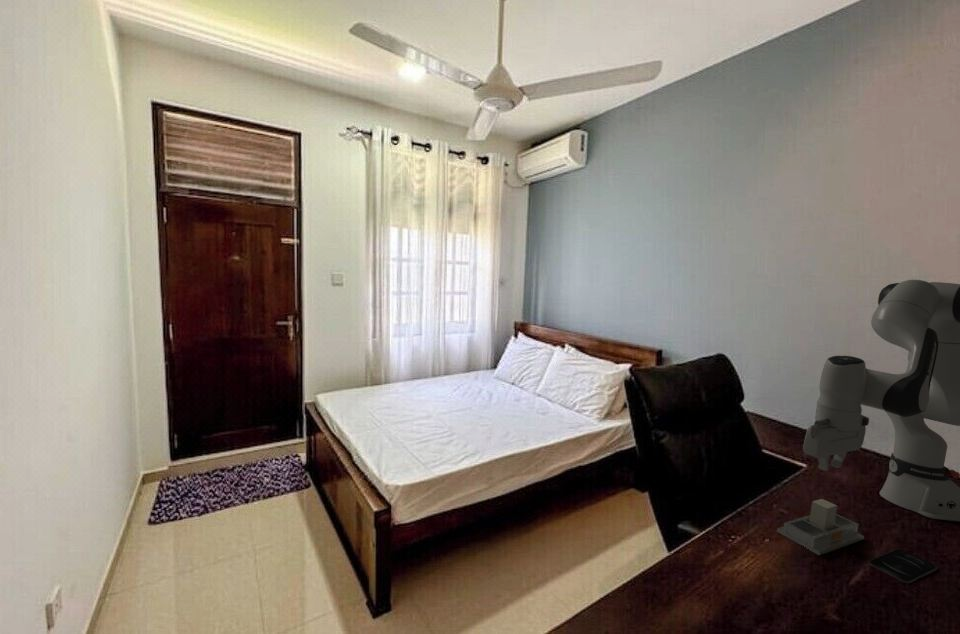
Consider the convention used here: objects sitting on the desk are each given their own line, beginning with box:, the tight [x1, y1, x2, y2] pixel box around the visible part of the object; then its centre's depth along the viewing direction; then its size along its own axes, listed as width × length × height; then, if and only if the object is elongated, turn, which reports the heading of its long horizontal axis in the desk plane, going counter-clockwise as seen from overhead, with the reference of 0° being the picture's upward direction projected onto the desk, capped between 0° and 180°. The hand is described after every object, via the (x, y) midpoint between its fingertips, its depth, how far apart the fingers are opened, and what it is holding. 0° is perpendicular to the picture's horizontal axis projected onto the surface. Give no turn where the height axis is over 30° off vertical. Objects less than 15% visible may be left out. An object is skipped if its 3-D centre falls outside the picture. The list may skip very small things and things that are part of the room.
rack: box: [776, 513, 865, 556], centre depth 110 cm, size 20×10×4 cm, turn 113°
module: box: [809, 498, 838, 531], centre depth 110 cm, size 4×4×8 cm
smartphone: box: [868, 548, 938, 584], centre depth 99 cm, size 8×1×15 cm
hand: (829, 468), depth 108 cm, fingers open, 4 cm apart
